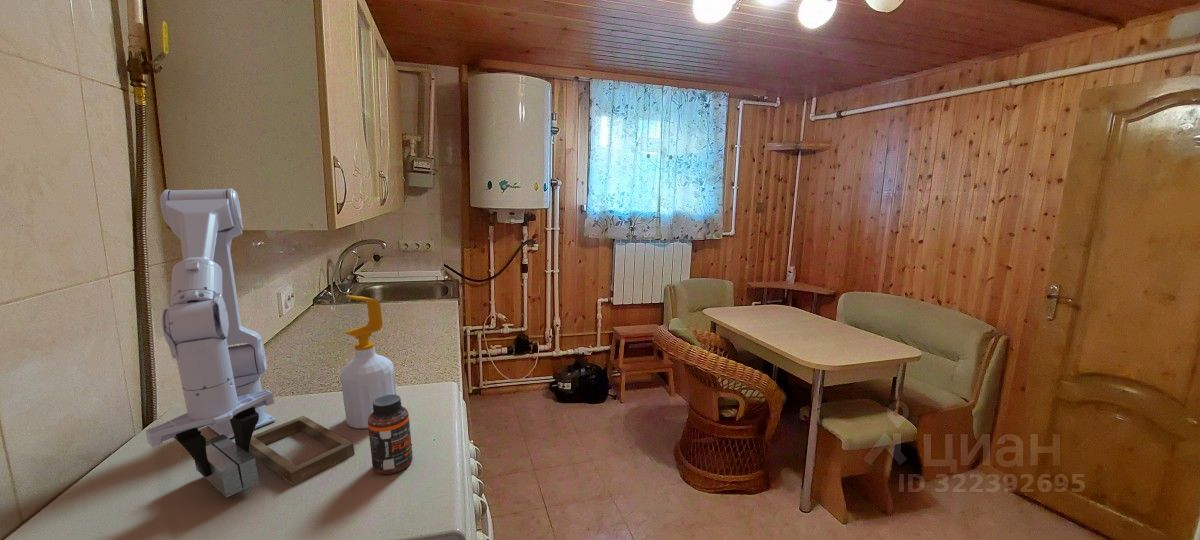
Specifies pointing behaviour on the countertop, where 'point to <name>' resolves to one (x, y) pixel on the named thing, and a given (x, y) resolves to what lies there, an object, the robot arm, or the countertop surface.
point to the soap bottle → (366, 371)
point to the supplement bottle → (389, 435)
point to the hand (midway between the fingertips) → (224, 465)
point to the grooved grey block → (229, 466)
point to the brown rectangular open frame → (306, 469)
